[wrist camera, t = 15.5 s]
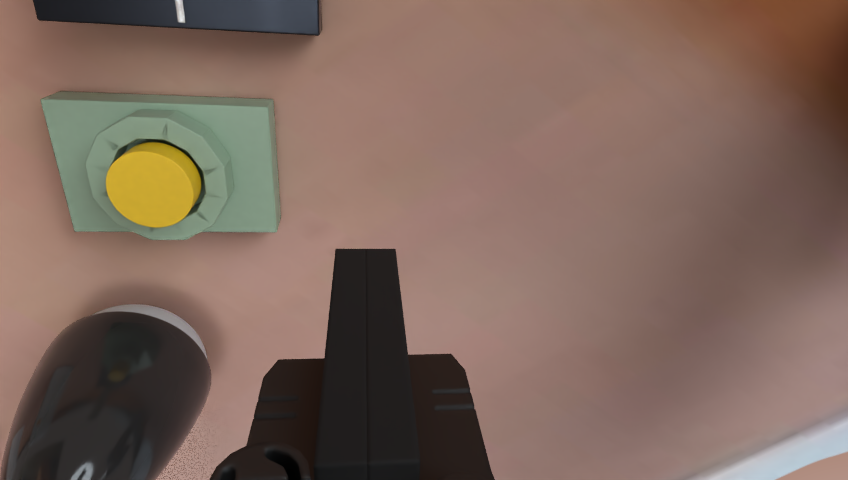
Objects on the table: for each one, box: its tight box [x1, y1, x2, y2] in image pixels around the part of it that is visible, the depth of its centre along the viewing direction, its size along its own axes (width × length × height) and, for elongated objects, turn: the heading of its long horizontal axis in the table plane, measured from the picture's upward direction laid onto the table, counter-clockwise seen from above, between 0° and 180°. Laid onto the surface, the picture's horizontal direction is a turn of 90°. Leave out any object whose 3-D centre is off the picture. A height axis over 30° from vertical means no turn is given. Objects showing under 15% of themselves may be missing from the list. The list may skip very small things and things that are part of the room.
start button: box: [106, 142, 201, 228], centre depth 29 cm, size 4×4×2 cm
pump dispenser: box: [0, 304, 211, 480], centre depth 32 cm, size 10×10×15 cm
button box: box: [41, 91, 281, 240], centre depth 31 cm, size 12×8×4 cm, turn 86°
